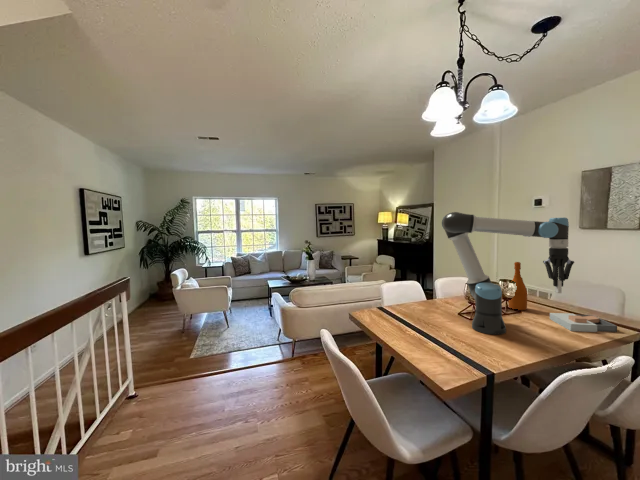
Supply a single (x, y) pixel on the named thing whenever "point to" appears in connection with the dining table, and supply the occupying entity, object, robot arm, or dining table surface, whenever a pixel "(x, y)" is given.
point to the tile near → (577, 319)
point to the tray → (604, 325)
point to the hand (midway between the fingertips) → (558, 292)
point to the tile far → (592, 319)
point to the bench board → (572, 323)
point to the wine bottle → (519, 291)
